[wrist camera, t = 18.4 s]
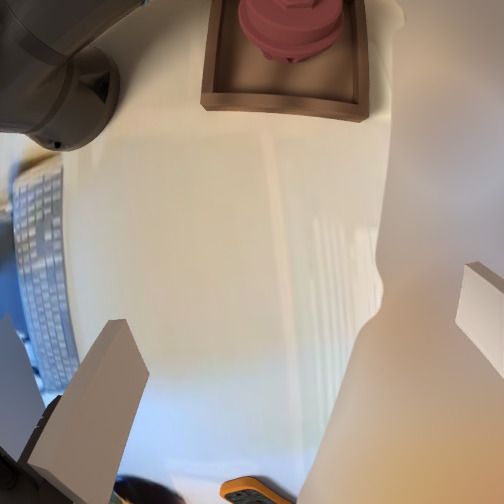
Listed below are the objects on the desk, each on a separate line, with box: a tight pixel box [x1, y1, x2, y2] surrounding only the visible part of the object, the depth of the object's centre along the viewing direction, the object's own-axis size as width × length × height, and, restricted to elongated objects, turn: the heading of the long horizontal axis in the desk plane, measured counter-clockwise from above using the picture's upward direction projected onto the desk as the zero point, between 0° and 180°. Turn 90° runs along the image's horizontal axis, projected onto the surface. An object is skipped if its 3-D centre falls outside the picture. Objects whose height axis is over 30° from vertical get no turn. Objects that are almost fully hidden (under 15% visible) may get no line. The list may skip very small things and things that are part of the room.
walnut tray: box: [200, 0, 369, 123], centre depth 29 cm, size 18×18×4 cm
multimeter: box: [220, 477, 293, 504], centre depth 47 cm, size 9×18×3 cm, turn 35°
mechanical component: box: [238, 0, 344, 64], centre depth 23 cm, size 12×10×10 cm
